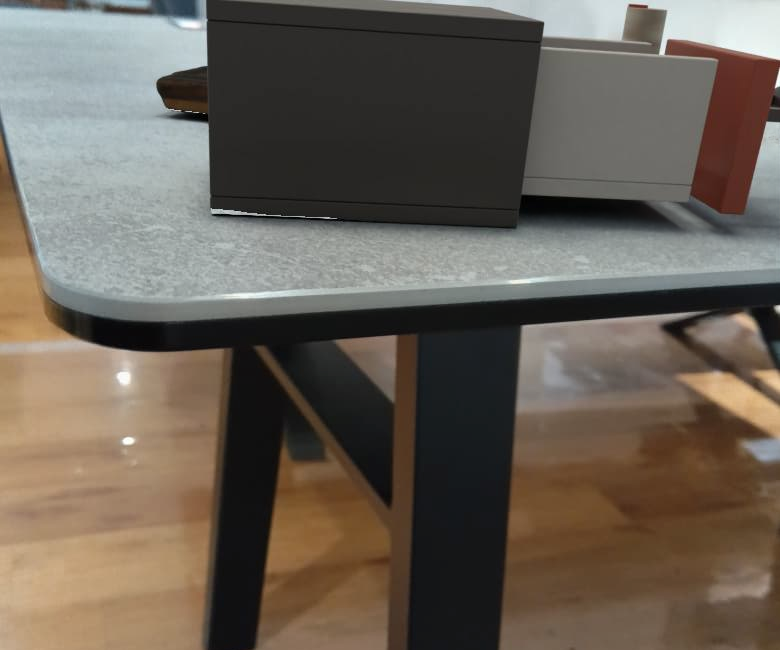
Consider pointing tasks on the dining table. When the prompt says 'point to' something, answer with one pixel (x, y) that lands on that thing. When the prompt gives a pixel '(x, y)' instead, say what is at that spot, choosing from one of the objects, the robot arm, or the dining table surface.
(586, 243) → the dining table surface
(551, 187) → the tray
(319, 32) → the dark grey lidded box
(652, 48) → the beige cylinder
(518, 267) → the dining table surface
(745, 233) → the dining table surface
